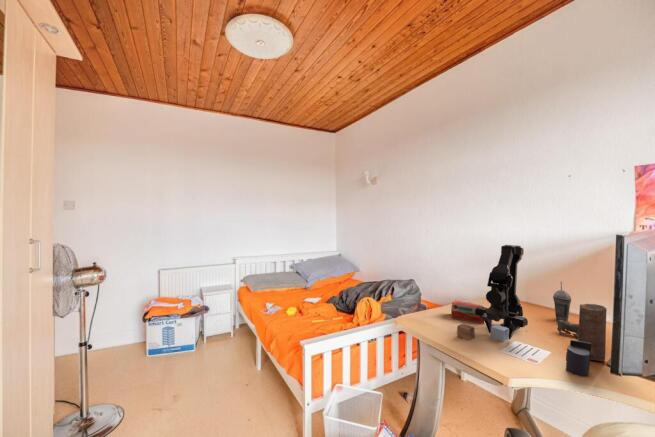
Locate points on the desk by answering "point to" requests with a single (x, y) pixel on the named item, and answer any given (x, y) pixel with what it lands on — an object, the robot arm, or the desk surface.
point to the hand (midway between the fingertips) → (499, 336)
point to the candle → (593, 329)
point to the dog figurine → (567, 327)
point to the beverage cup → (562, 304)
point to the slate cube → (499, 333)
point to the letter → (526, 352)
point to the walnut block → (465, 331)
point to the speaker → (578, 358)
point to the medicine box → (466, 311)
